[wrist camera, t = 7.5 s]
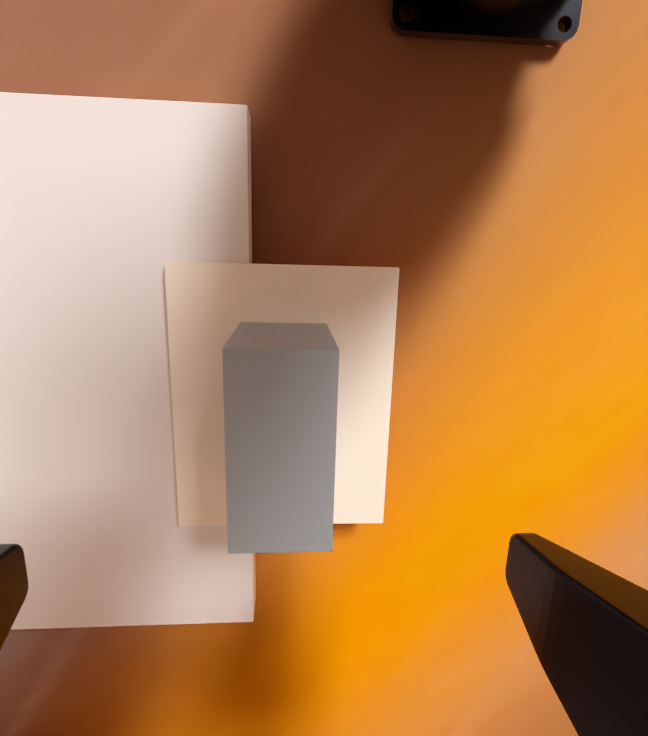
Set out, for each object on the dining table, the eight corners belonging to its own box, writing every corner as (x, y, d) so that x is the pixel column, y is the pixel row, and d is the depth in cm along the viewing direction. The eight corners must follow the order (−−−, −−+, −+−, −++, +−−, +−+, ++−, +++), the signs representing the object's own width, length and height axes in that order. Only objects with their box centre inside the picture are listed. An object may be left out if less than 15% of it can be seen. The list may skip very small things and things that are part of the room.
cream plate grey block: (396, 267, 16) (440, 273, 12) (380, 517, 19) (411, 607, 14) (167, 261, 16) (114, 265, 11) (181, 520, 18) (142, 614, 13)
